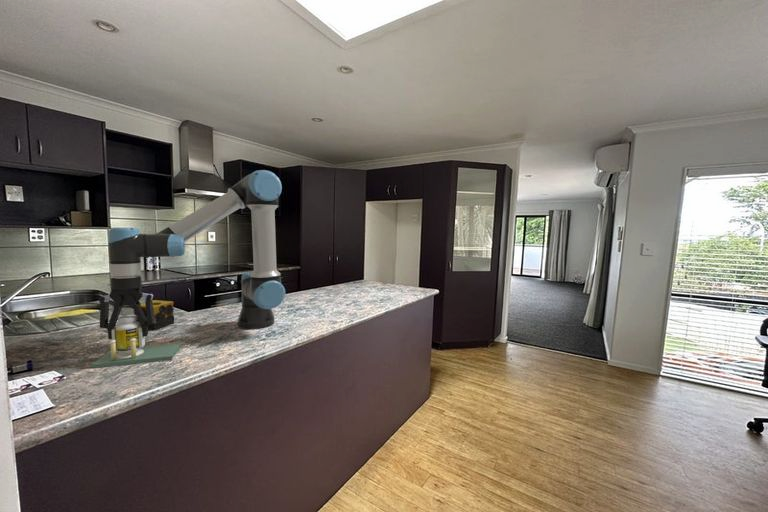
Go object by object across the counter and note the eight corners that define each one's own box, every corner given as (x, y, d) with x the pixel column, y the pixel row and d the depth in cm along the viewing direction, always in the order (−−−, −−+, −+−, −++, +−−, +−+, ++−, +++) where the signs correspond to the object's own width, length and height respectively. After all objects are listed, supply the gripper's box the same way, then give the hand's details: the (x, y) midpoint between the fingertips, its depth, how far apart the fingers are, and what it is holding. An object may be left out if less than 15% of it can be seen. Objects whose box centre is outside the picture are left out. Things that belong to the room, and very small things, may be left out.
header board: (181, 346, 109) (181, 325, 109) (171, 359, 98) (171, 337, 97) (111, 352, 102) (110, 331, 102) (92, 368, 91) (91, 344, 90)
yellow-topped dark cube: (154, 322, 135) (154, 299, 135) (175, 323, 134) (174, 301, 133) (133, 329, 125) (132, 305, 125) (155, 331, 124) (154, 306, 123)
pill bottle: (127, 355, 95) (125, 320, 94) (111, 353, 96) (109, 318, 95) (146, 347, 101) (144, 314, 100) (131, 345, 102) (129, 313, 101)
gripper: (165, 273, 104) (167, 340, 106) (93, 275, 97) (97, 346, 99) (158, 277, 97) (160, 348, 99) (80, 279, 90) (84, 355, 92)
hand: (129, 347), depth 99 cm, fingers closed on pill bottle, 6 cm apart
